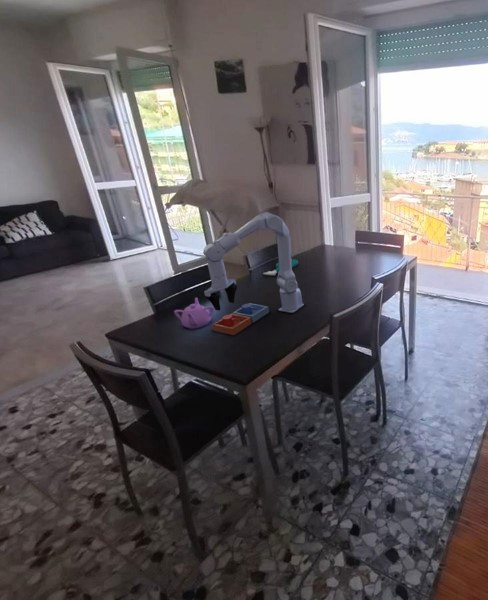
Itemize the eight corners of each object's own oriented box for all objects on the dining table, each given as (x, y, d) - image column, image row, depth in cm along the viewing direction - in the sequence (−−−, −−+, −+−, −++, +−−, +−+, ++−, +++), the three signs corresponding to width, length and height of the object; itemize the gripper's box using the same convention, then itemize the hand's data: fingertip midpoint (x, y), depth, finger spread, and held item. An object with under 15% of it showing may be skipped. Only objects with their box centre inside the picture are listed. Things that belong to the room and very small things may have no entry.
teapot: (193, 333, 143) (187, 313, 140) (174, 324, 150) (169, 305, 147) (219, 321, 153) (215, 303, 149) (200, 314, 159) (196, 296, 156)
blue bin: (250, 308, 164) (249, 303, 163) (269, 312, 160) (268, 306, 159) (233, 318, 155) (232, 312, 154) (253, 322, 151) (252, 316, 150)
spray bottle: (300, 264, 223) (277, 277, 202) (285, 262, 226) (261, 276, 205) (299, 259, 221) (276, 273, 200) (284, 258, 225) (260, 271, 204)
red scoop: (221, 326, 147) (219, 318, 146) (228, 322, 151) (227, 314, 149) (237, 330, 144) (235, 321, 143) (244, 325, 148) (242, 317, 146)
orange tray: (232, 319, 154) (231, 313, 153) (251, 323, 151) (250, 317, 149) (213, 330, 145) (211, 324, 144) (233, 335, 142) (232, 328, 140)
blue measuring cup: (241, 315, 157) (239, 306, 155) (247, 311, 160) (245, 303, 159) (256, 317, 154) (254, 309, 153) (262, 314, 158) (260, 305, 156)
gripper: (224, 267, 147) (230, 297, 152) (195, 279, 134) (203, 311, 140) (237, 269, 144) (243, 300, 150) (209, 282, 132) (217, 314, 137)
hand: (224, 306), depth 145 cm, fingers open, 7 cm apart
